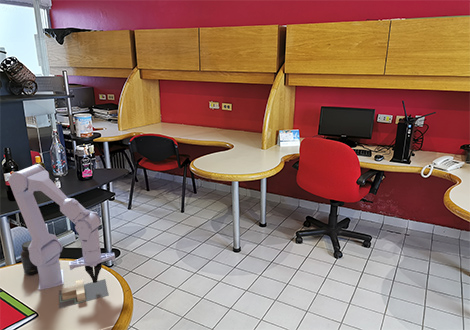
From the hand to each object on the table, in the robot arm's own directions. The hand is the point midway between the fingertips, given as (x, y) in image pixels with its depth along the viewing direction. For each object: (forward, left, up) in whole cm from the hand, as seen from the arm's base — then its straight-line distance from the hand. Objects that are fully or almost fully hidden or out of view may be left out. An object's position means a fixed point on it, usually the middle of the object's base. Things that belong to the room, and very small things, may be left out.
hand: (95, 281), depth 123 cm
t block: (0, -7, -4) cm, 8 cm away
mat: (0, -4, -4) cm, 6 cm away
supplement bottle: (-22, -20, -4) cm, 30 cm away
